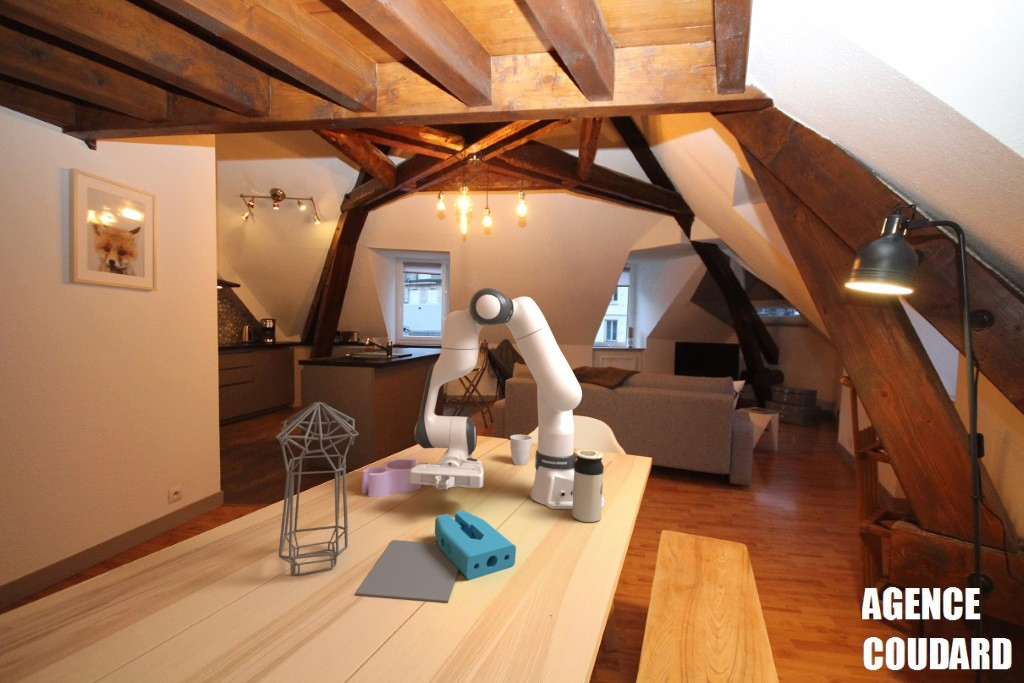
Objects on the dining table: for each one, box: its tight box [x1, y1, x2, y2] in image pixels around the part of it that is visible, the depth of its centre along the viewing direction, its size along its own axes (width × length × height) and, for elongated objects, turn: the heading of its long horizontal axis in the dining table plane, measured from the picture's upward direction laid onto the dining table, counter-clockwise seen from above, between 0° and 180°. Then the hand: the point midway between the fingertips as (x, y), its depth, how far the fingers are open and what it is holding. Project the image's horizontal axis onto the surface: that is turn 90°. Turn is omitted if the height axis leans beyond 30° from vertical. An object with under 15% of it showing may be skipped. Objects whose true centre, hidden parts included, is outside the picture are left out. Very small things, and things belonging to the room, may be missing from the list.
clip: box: [361, 457, 429, 498], centre depth 148 cm, size 20×12×7 cm, turn 137°
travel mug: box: [571, 449, 604, 523], centre depth 131 cm, size 8×8×18 cm
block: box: [434, 510, 517, 581], centre depth 108 cm, size 12×5×20 cm
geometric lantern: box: [275, 401, 360, 577], centre depth 101 cm, size 16×16×35 cm
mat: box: [355, 539, 460, 604], centre depth 101 cm, size 18×22×1 cm
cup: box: [509, 434, 533, 466], centre depth 177 cm, size 8×8×10 cm
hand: (441, 486), depth 122 cm, fingers closed
